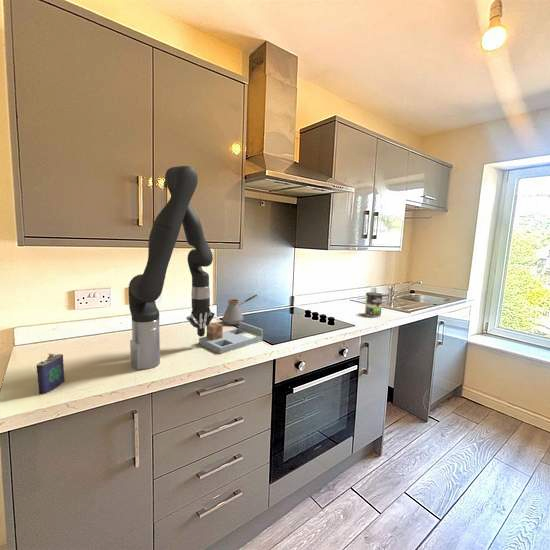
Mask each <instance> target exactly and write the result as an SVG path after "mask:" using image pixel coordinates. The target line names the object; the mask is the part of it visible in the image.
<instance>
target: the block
mask: <svg viewBox="0 0 550 550" xmlns="http://www.w3.org/2000/svg"><path fill="white" fill-rule="evenodd" d="M223 328H224V327H223V324H221V323H218V322H213V323H211V322H210V324H209V325H208V326H206V336H207V338H209V339H211V340H217V339H220V338H222V335H223V332H224V330H223Z"/></svg>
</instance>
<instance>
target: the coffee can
mask: <svg viewBox="0 0 550 550" xmlns="http://www.w3.org/2000/svg"><path fill="white" fill-rule="evenodd" d="M383 296H384V294H383V293H380V292H371V291H370V292H368V291H367V292H365V307H364V315H365V316H367V317H371V318H379V317H382V306H383Z"/></svg>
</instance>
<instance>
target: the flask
mask: <svg viewBox="0 0 550 550" xmlns="http://www.w3.org/2000/svg"><path fill="white" fill-rule="evenodd" d="M47 355H49V356H48V357H47V358H46V359H44V361H43V360H41V361H40V362H38V363H37V364H36V374H37V384H38V394H39V395H46V394H47V393H50V392H51V391H53V390H55V389H56V388H58V387H60V386H61V385H62V384H64V382H65V379H66V378H65V370H64V368H65V367H64V365H65V364H64V355H63V354H62V353H59V354H58V353H57V354H56V353H54V354H53V353H47Z"/></svg>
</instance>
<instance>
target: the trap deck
mask: <svg viewBox="0 0 550 550" xmlns="http://www.w3.org/2000/svg"><path fill="white" fill-rule="evenodd" d="M263 336H264V329H263V328H260V327H257V326H254V325H251V324H248V323H245V322H243V321H242V322H239V324H238V327H237V328H234V329H230V330H225V331H223V335H222V338H220V339H217V340H211V339H209V338H207V335H206V336H205V335H204V336H202V337H199V338H198V344H199V345H201V346H203V347H205V348H207V349H209V350H212V351H214V352H215V353H218V354H220V355H221V354H225V353H228V351H229V352H232V351H235V350H237V349H240V348H244V347H247V345H248V346H250V344H251V345H254V344H256V342H257V343H259V341H260V342H262V341H261V340H263V341H264V339H263V338H264V337H263ZM253 343H254V344H253ZM231 350H232V351H231Z"/></svg>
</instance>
